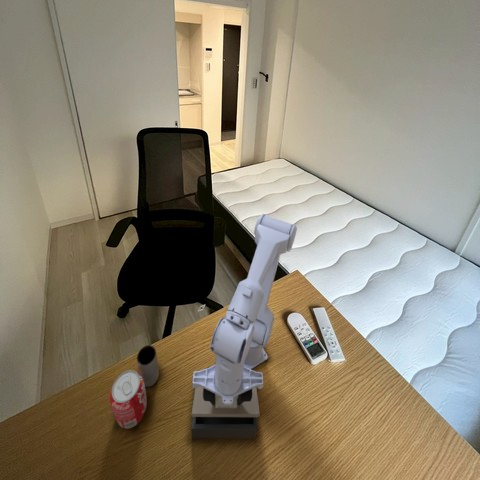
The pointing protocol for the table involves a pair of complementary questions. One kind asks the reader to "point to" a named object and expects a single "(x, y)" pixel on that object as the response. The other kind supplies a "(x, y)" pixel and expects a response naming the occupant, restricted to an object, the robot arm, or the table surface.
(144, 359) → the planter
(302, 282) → the table surface
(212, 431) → the dark grey open box
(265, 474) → the table surface
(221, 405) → the lid
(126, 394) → the soda can
